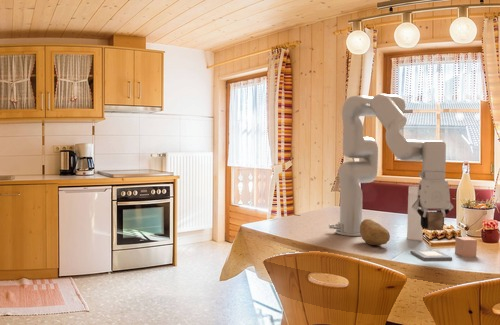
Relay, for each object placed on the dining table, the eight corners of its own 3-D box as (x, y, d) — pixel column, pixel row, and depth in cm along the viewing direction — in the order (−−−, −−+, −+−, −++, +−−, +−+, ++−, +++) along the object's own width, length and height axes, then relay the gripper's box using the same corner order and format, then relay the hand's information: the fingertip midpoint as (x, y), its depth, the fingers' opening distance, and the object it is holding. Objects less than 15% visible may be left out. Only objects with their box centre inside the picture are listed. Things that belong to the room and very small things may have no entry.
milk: (407, 236, 187) (408, 185, 186) (422, 238, 185) (423, 186, 184) (406, 239, 182) (408, 186, 181) (422, 240, 179) (424, 187, 179)
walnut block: (428, 230, 150) (429, 212, 150) (421, 227, 155) (422, 210, 155) (442, 230, 151) (443, 212, 151) (435, 227, 156) (435, 210, 156)
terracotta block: (462, 256, 154) (463, 240, 154) (454, 253, 159) (455, 237, 159) (476, 256, 155) (476, 240, 155) (467, 253, 160) (468, 236, 159)
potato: (371, 250, 162) (372, 225, 162) (354, 240, 177) (355, 218, 177) (393, 249, 164) (394, 224, 163) (374, 240, 179) (375, 217, 179)
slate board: (423, 260, 148) (424, 257, 148) (410, 253, 158) (410, 250, 158) (452, 260, 149) (452, 257, 149) (437, 252, 159) (437, 249, 159)
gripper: (414, 176, 148) (413, 230, 149) (462, 176, 150) (461, 229, 150) (405, 175, 156) (404, 226, 156) (450, 175, 157) (449, 225, 158)
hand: (432, 227), depth 153 cm, fingers closed on walnut block, 5 cm apart
